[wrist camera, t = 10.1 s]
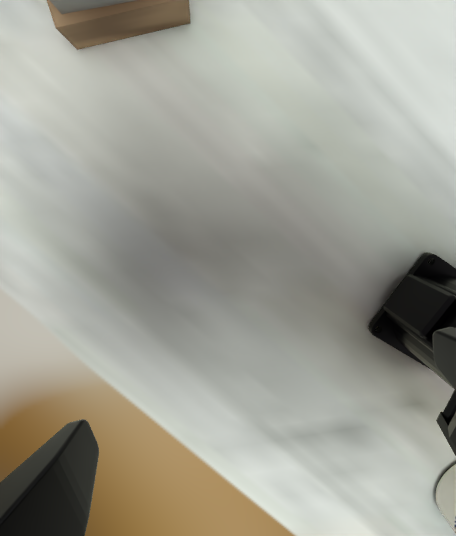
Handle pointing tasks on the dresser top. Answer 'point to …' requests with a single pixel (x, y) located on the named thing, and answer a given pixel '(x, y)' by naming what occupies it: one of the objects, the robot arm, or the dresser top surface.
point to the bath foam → (447, 496)
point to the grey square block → (83, 4)
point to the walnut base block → (119, 21)
